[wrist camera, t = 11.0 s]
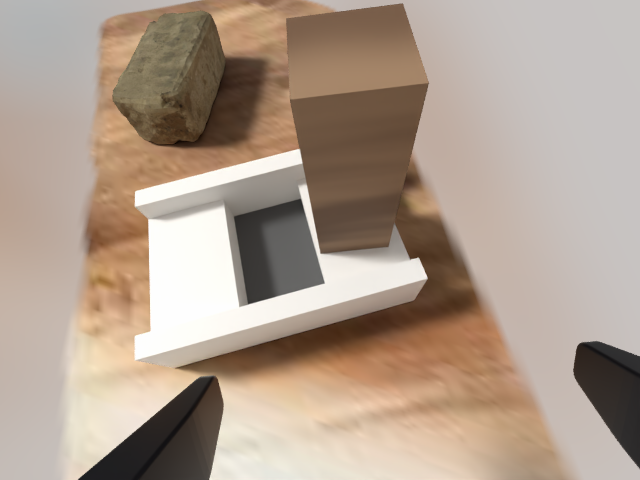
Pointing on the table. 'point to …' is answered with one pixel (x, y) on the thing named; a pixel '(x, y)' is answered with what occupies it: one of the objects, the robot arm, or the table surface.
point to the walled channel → (253, 264)
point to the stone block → (172, 78)
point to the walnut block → (355, 119)
